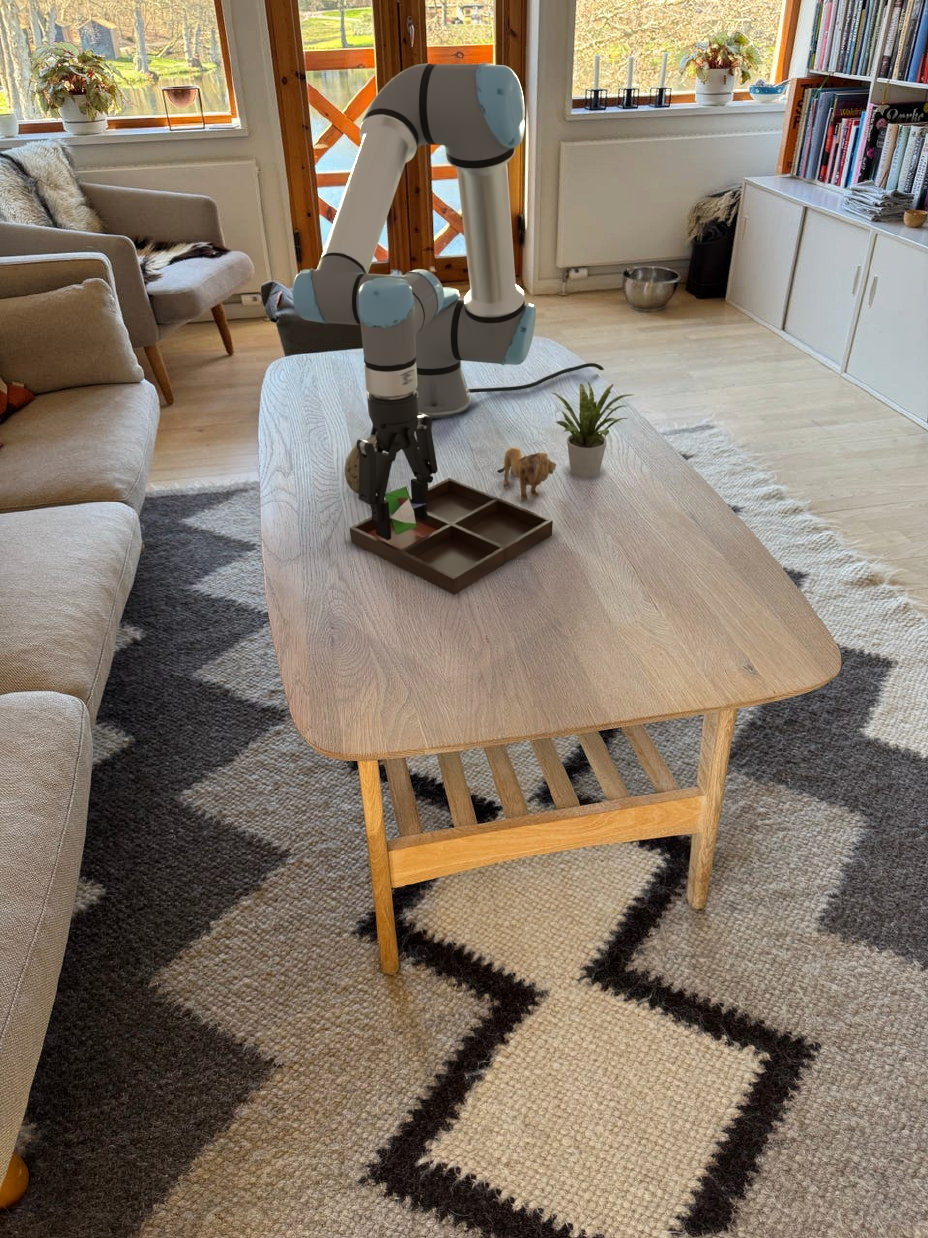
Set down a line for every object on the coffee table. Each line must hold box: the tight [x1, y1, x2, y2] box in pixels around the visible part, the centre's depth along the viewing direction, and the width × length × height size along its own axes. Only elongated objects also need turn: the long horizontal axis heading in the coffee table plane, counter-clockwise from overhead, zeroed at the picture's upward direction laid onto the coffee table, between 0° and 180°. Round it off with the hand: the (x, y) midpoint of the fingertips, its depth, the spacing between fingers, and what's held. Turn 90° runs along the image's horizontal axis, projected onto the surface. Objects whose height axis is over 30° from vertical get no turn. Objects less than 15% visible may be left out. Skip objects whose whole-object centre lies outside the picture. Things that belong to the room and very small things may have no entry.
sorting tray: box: [349, 477, 554, 596], centre depth 152 cm, size 23×23×3 cm
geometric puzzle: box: [384, 485, 425, 535], centre depth 150 cm, size 7×7×8 cm
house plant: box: [550, 381, 634, 479], centre depth 166 cm, size 14×14×16 cm
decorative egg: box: [344, 444, 359, 495], centre depth 163 cm, size 7×7×10 cm
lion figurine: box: [496, 446, 557, 502], centre depth 164 cm, size 15×5×9 cm, turn 34°
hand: (402, 526), depth 151 cm, fingers closed on geometric puzzle, 7 cm apart
